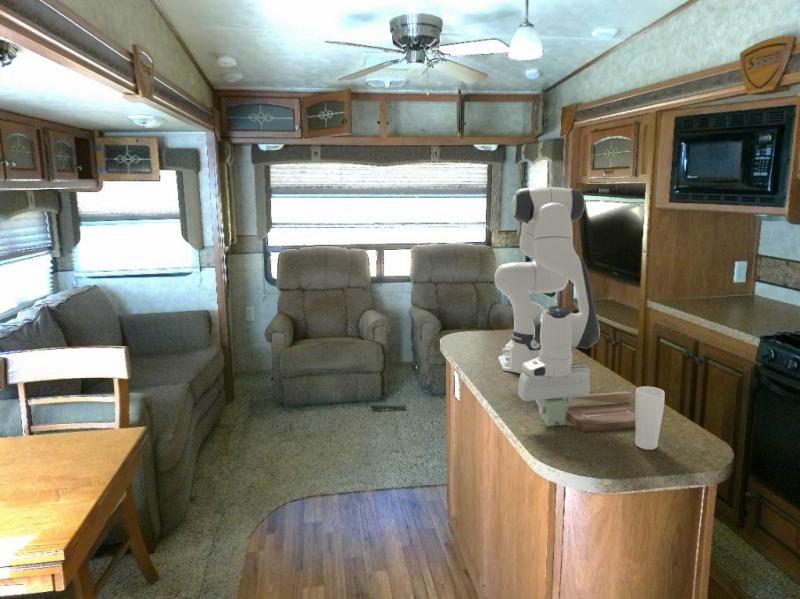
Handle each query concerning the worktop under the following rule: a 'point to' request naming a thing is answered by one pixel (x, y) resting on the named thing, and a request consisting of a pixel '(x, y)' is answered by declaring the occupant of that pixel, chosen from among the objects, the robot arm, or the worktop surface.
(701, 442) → the worktop surface
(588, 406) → the walnut board
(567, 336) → the robot arm
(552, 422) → the block
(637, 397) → the drinking glass
